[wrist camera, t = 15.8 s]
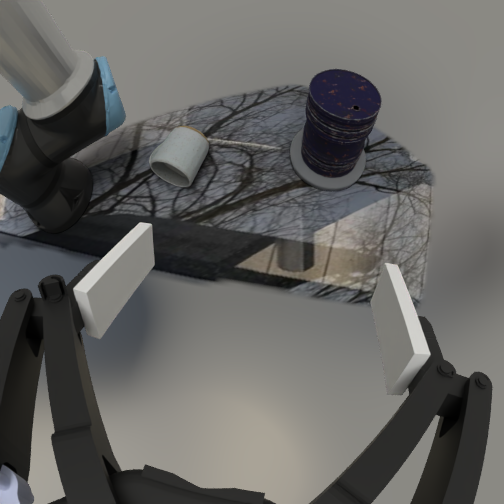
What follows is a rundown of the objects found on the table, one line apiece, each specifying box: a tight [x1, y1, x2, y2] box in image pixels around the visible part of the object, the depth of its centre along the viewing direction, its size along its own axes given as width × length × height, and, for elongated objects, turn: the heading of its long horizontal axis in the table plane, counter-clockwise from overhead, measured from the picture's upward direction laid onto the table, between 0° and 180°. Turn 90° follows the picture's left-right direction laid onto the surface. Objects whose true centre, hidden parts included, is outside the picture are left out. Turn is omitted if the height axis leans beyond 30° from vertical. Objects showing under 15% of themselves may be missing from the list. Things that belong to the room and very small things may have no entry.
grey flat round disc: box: [290, 128, 366, 191], centre depth 50 cm, size 13×13×2 cm
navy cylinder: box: [301, 69, 381, 178], centre depth 42 cm, size 10×10×15 cm
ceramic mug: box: [149, 126, 209, 187], centre depth 48 cm, size 11×8×8 cm
